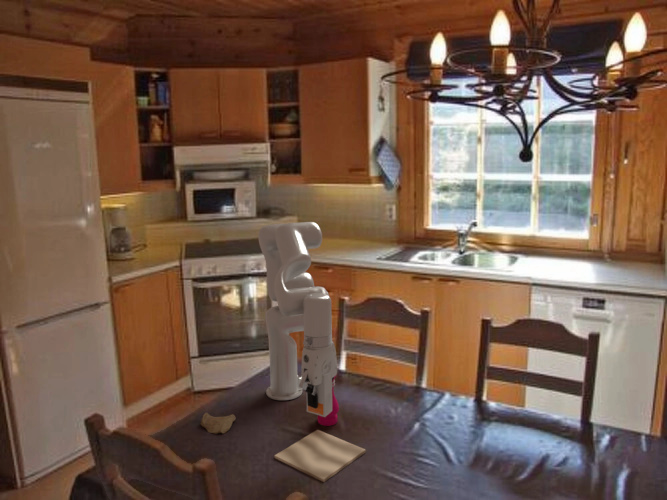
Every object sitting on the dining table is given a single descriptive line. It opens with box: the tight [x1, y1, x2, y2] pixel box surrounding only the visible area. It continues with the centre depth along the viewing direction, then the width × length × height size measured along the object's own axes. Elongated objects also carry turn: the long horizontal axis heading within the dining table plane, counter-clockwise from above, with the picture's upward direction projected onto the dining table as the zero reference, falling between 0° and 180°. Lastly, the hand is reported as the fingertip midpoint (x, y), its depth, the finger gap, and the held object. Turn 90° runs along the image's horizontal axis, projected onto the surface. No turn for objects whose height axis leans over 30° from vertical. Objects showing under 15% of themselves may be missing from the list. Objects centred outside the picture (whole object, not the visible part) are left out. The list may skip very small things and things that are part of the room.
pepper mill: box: [317, 375, 340, 427], centre depth 170 cm, size 7×7×20 cm
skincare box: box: [305, 372, 332, 417], centre depth 149 cm, size 6×4×12 cm
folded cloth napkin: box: [274, 429, 367, 483], centre depth 153 cm, size 18×18×1 cm
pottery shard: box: [200, 412, 236, 435], centre depth 170 cm, size 11×4×10 cm
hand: (319, 402), depth 150 cm, fingers closed on skincare box, 4 cm apart
